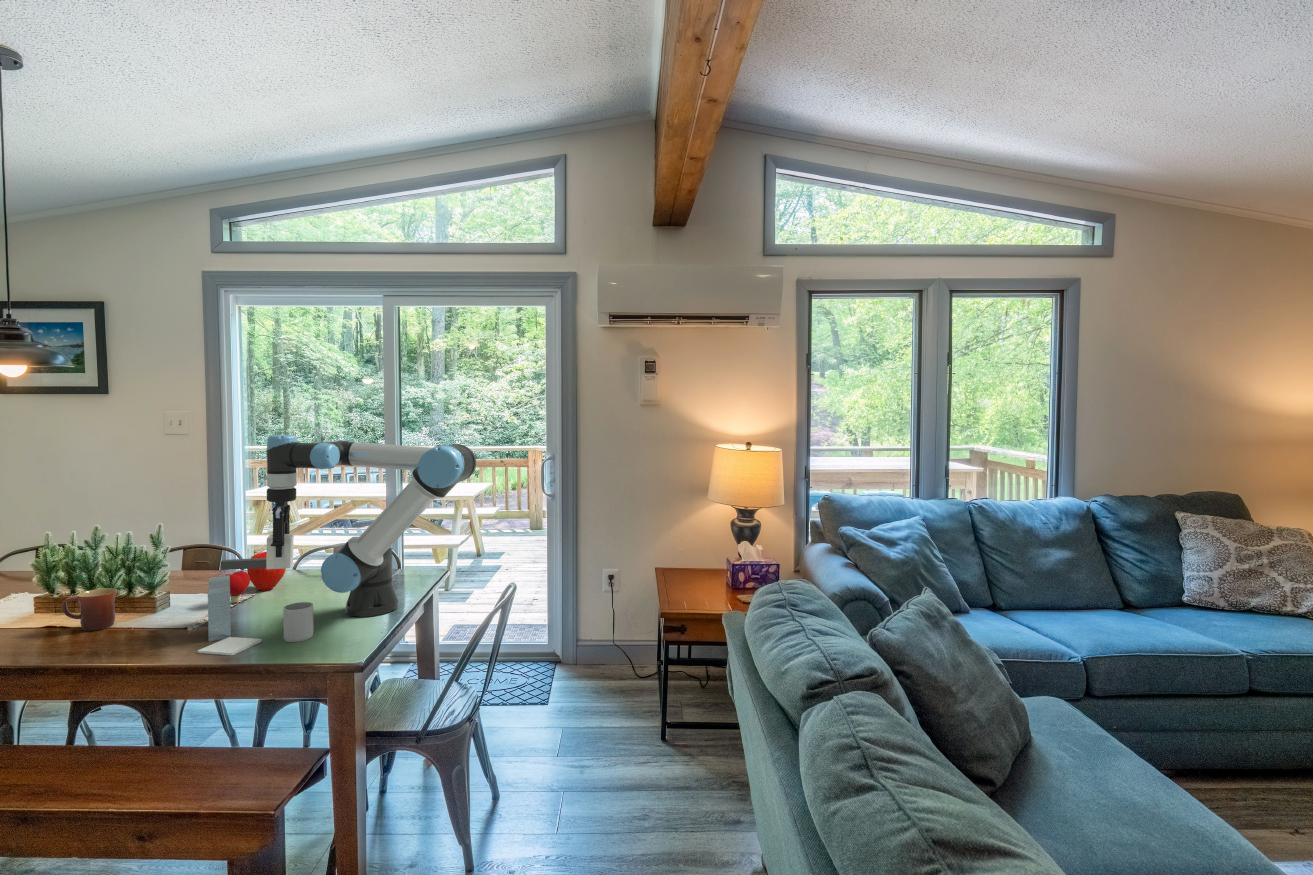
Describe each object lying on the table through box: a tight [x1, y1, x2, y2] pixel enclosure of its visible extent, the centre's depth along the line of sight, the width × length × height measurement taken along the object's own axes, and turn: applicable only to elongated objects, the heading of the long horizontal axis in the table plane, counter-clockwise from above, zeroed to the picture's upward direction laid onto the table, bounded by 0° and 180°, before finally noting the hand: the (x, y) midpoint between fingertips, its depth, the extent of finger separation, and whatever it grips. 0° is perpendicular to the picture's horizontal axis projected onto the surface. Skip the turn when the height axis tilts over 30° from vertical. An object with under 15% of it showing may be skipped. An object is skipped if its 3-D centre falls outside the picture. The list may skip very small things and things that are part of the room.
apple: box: [246, 551, 287, 592], centre depth 220 cm, size 12×12×13 cm
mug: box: [61, 587, 119, 632], centre depth 179 cm, size 12×9×10 cm
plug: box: [220, 533, 295, 571], centre depth 183 cm, size 18×6×9 cm, turn 113°
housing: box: [207, 575, 232, 642], centre depth 180 cm, size 5×20×13 cm, turn 35°
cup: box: [282, 601, 314, 643], centre depth 175 cm, size 7×10×9 cm
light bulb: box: [224, 570, 251, 604], centre depth 204 cm, size 9×7×10 cm
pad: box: [197, 636, 263, 656], centre depth 167 cm, size 10×10×1 cm
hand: (281, 564), depth 186 cm, fingers closed on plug, 6 cm apart
